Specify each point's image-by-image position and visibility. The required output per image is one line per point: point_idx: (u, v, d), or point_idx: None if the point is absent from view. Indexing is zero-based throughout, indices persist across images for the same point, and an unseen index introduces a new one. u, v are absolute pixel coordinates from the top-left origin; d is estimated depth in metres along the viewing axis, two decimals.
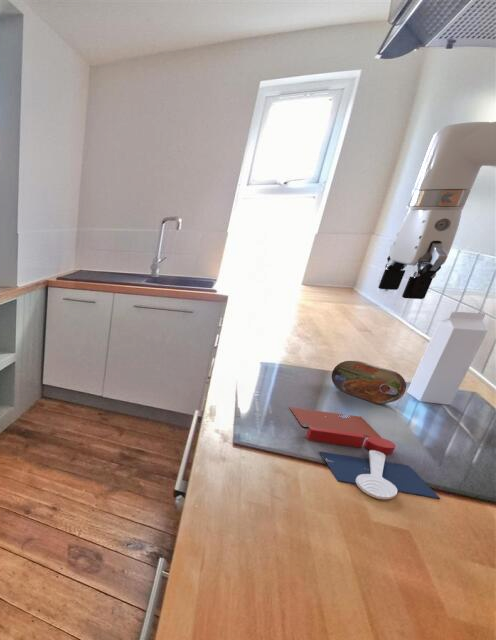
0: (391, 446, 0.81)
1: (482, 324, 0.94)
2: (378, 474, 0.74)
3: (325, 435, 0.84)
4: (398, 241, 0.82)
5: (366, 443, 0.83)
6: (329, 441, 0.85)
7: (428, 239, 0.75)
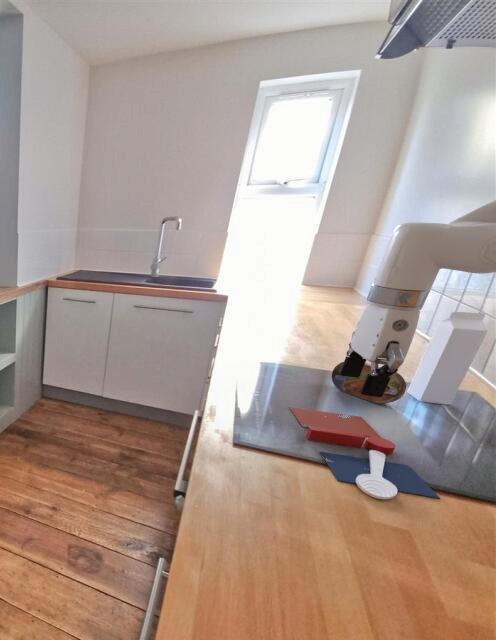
0: (391, 446, 0.81)
1: (482, 324, 0.94)
2: (378, 474, 0.74)
3: (325, 435, 0.84)
4: (358, 331, 0.79)
5: (366, 443, 0.83)
6: (329, 441, 0.85)
7: (386, 339, 0.72)
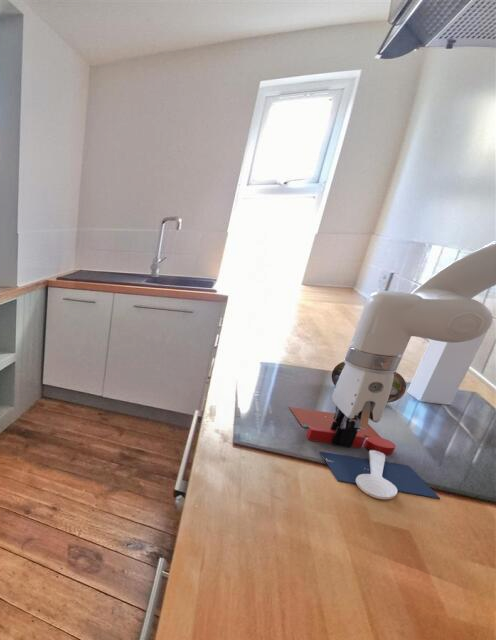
0: (391, 446, 0.81)
1: None
2: (378, 474, 0.74)
3: (325, 435, 0.84)
4: (338, 387, 0.83)
5: (366, 443, 0.83)
6: (329, 441, 0.85)
7: (363, 399, 0.76)
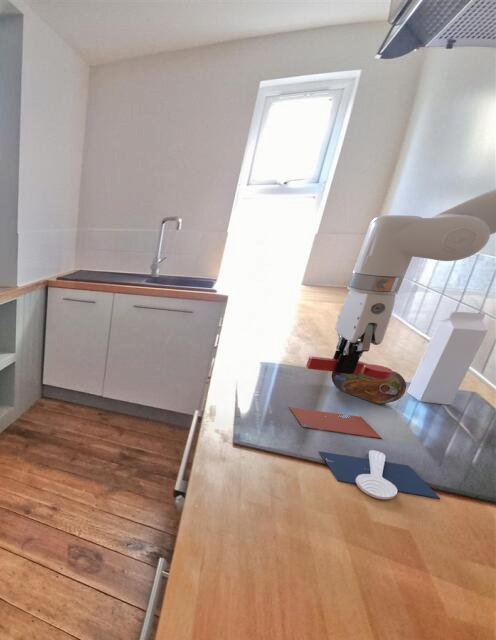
0: (388, 371, 0.84)
1: (482, 324, 0.94)
2: (378, 474, 0.74)
3: (325, 363, 0.88)
4: (341, 316, 0.86)
5: (364, 370, 0.86)
6: (328, 369, 0.88)
7: (365, 321, 0.79)
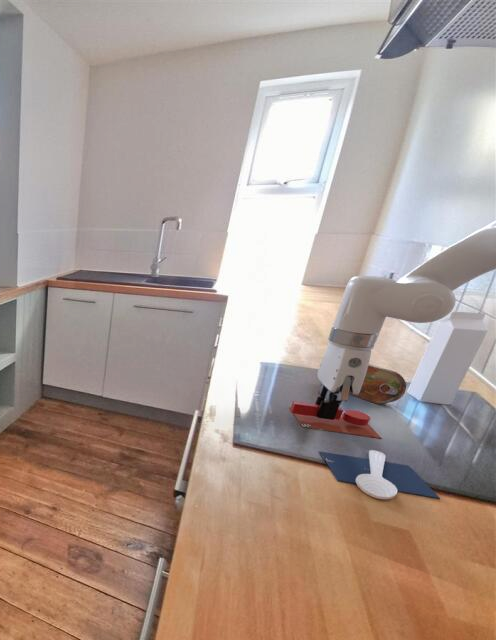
0: (366, 418, 0.89)
1: (482, 324, 0.94)
2: (378, 474, 0.74)
3: (307, 409, 0.93)
4: (322, 365, 0.91)
5: (344, 416, 0.91)
6: (311, 414, 0.93)
7: (343, 373, 0.84)
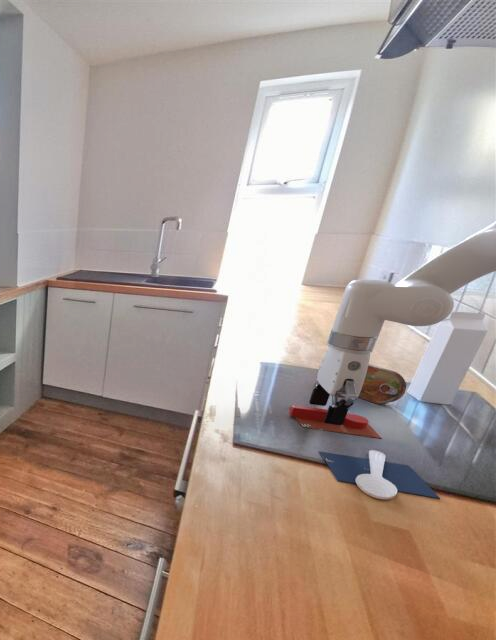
0: (364, 421, 0.89)
1: (482, 324, 0.94)
2: (378, 474, 0.74)
3: (306, 412, 0.93)
4: (322, 368, 0.92)
5: None
6: (309, 418, 0.93)
7: (342, 377, 0.84)
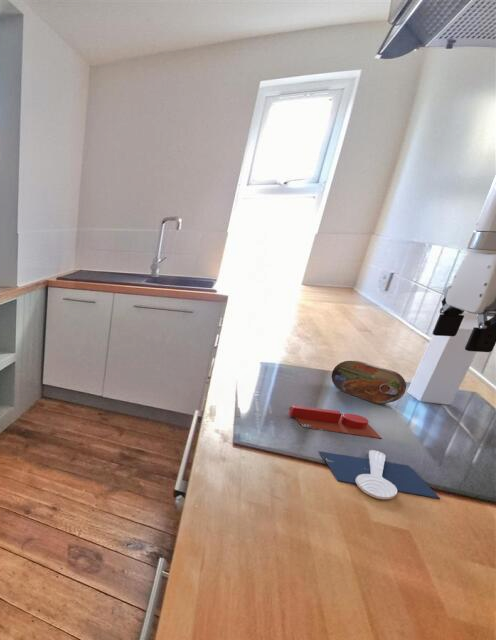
0: (364, 421, 0.89)
1: None
2: (378, 474, 0.74)
3: (306, 412, 0.93)
4: (456, 285, 0.73)
5: (342, 419, 0.92)
6: (309, 418, 0.93)
7: None
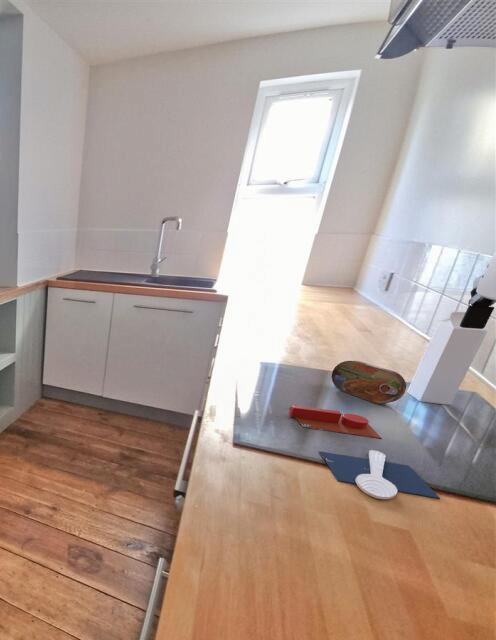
0: (364, 421, 0.89)
1: None
2: (378, 474, 0.74)
3: (306, 412, 0.93)
4: (489, 274, 0.70)
5: (342, 419, 0.92)
6: (309, 418, 0.93)
7: None
